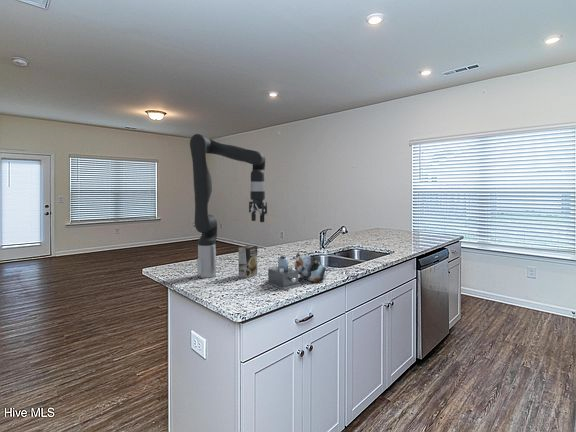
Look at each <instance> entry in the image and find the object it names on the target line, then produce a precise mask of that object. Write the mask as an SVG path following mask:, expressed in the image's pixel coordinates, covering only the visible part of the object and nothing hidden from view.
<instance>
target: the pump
mask: <svg viewBox="0 0 576 432" xmlns="http://www.w3.org/2000/svg"><path fill="white" fill-rule="evenodd" d="M277 267H278V271H279V268H284V271H288V268H289V257H287V256H286V255H280V256H279V257H278V258H277Z"/></svg>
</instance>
